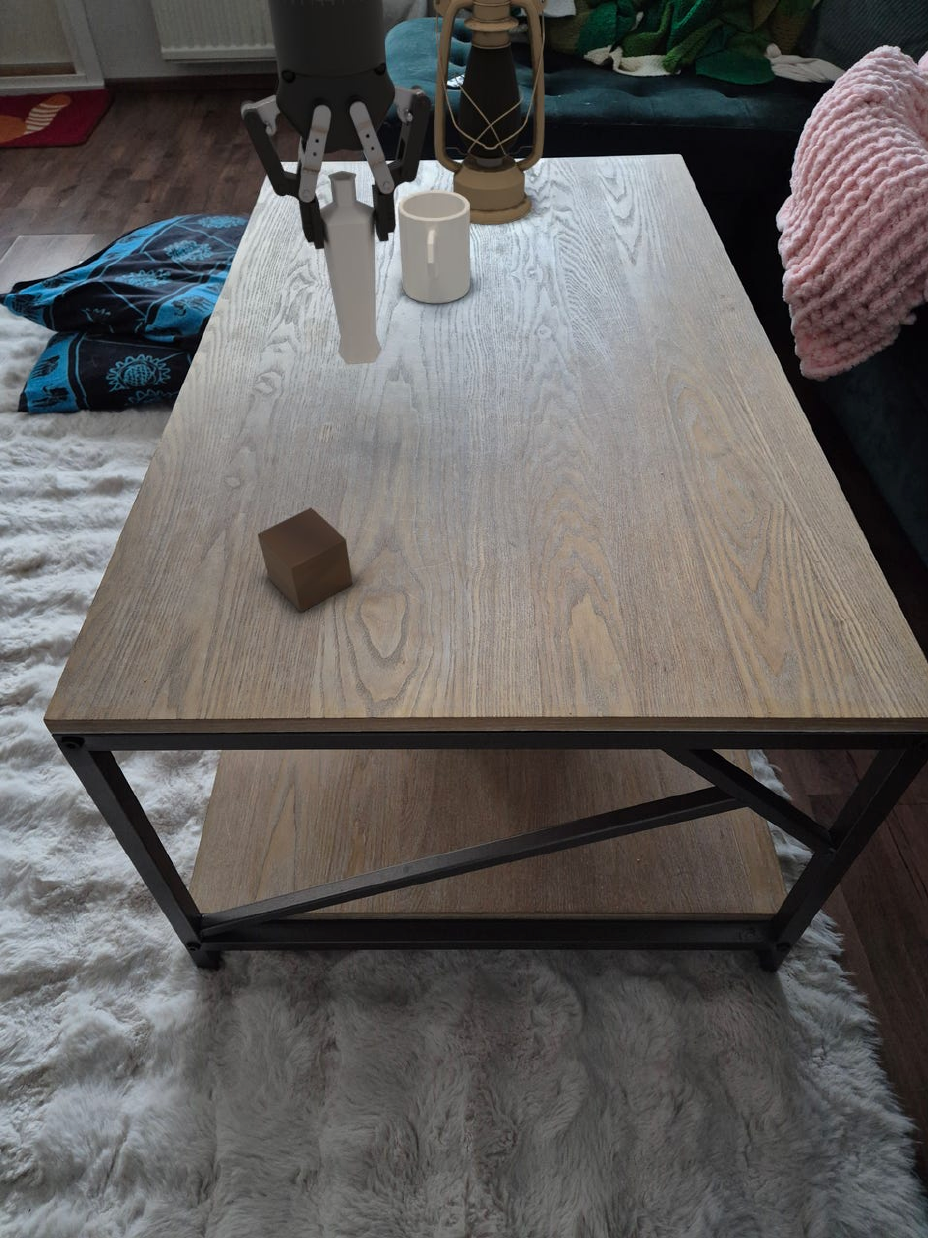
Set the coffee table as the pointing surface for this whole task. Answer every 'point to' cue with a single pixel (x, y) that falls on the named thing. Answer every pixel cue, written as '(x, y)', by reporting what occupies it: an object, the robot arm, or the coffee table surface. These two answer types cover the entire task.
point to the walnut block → (306, 559)
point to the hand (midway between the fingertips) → (350, 240)
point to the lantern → (490, 107)
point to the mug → (435, 245)
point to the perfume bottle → (351, 268)
